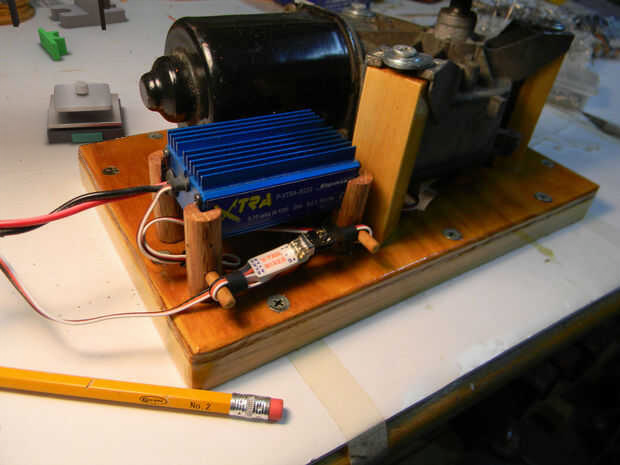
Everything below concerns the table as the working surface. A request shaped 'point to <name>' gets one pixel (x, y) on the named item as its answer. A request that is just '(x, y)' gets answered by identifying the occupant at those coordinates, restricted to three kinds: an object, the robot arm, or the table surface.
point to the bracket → (85, 14)
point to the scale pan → (85, 116)
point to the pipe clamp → (53, 43)
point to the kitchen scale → (86, 133)
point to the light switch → (82, 97)
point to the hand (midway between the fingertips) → (61, 26)
